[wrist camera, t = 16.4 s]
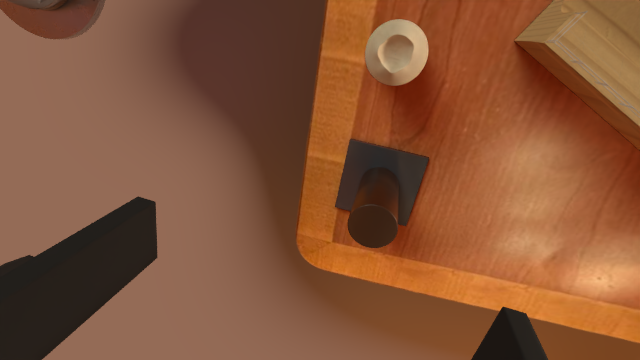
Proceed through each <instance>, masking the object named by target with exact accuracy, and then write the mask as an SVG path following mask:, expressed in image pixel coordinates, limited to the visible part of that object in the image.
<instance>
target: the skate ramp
mask: <svg viewBox="0 0 640 360" xmlns="http://www.w3.org/2000/svg"><path fill="white" fill-rule="evenodd" d="M515 42H516V43H517V44H519V45H520V46H521V47H522V48H523V49H524V50H525V51H527V52H528V53H529V54H530V55H531V56H532V57H533V58H535V59H536V60H537V61H538V62H539V63H540V64H541V65H543V66H544V67H545V68H546V69H547V70H548V71H549V72H551V73H552V74H553V75H554V76H555V77H556V78H557V79H559V80H560V81H561V82H562V83H563V84H564V85H565V86H567V87H568V88H569V89H570V90H571V91H572V92H573V93H575V94H576V95H577V96H578V97H579V98H580V99H581V100H583V101H584V102H585V103H586V104H587V105H588V106H589V107H591V108H592V109H593V110H594V111H595V112H596V113H597V114H599V115H600V116H601V117H602V118H603V119H604V120H605V121H607V122H608V123H609V124H610V125H611V126H612V127H613V128H615V129H616V130H617V131H618V132H619V133H620V134H621V135H623V136H624V137H625V138H626V139H627V140H628V141H630V142H631V143H632V144H633V145H634V146H635V147H636V148H638V149H639V150H640V0H554V1H553V2H552V3H551V4H550V5H549V6H548V7H547V8H546V9H545V10H544V11H543V12H542V13H541V14H540V15H539V16H538V17H537V18H536V19H535V20H534V21H533V22H532V23H531V24H530V25H529V26H528V27H527V28H526V29H525V30H524V31H523V32H522V33H521V34H520V35H519V36H518V37H517V38H516V39H515ZM544 43H545V44H544ZM548 46H549V47H550V48H551V49H552V50H553V51H554V52H553V51H552V50H551V49H550V48H549V47H548ZM557 54H558V55H559V56H560V57H561V58H562V59H561V58H560V57H559V56H558V55H557ZM565 61H566V62H567V63H568V64H569V65H570V66H569V65H568V64H567V63H566V62H565ZM573 68H574V69H575V70H576V71H577V72H578V73H579V74H578V73H577V72H576V71H575V70H574V69H573ZM582 76H583V77H584V78H585V79H586V80H587V81H586V80H585V79H584V78H583V77H582ZM590 83H591V84H592V85H593V86H594V87H595V88H594V87H593V86H592V85H591V84H590ZM598 90H599V91H600V92H601V93H602V94H603V95H604V96H603V95H602V94H601V93H600V92H599V91H598ZM607 98H608V99H609V100H610V101H611V102H612V103H611V102H610V101H609V100H608V99H607ZM615 105H616V106H617V107H618V108H619V109H620V110H619V109H618V108H617V107H616V106H615ZM623 112H624V113H625V114H626V115H627V116H628V117H629V118H628V117H627V116H626V115H625V114H624V113H623ZM632 120H633V121H634V122H635V123H636V124H637V125H636V124H635V123H634V122H633V121H632Z"/></svg>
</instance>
